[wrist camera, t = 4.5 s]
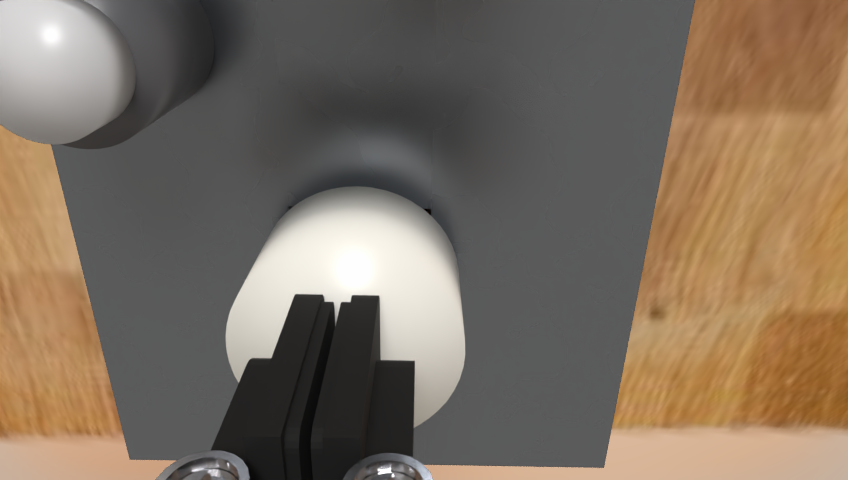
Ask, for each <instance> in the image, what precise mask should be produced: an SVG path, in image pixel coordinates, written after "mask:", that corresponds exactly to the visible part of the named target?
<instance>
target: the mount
mask: <svg viewBox="0 0 848 480" xmlns="http://www.w3.org/2000/svg"><path fill="white" fill-rule="evenodd" d="M199 2H200V3H201V5H202V7H203V9H204V10H205V12H206V15H207V17H208V19H209V22H210V25H211V29H212V33H213V39H214V58H213V63H212V67H211V70H210V73H209V75H208V77H207V79H206V81H205V83H204V84H203V85H202V87H201V88H200V89H199V90H198V91H197V92H196V93H195V94H194V95H193V96H192V97H190V98H189V99H187V100H186V101H184V102H183V103H181V104H180V105H179V106H177V107H176V108H174V109H173V110H171V111H170V112H168V113H167V114H165V115H164V116H162V117H161V118H159V119H158V120H156V121H155V122H153V123H152V124H151V125H149V126H148V127H146V128H145V129H143V130H142V131H140V132H139V133H137V134H136V135H134V136H133V137H131V138H130V139H128V140H126V141H124V142H122V143H120V144H118V145H115V146H112V147H107V148H102V149H78V148H73V147H68V146H64V145H61V144H51V146H52V150H53V154H54V158H55V162H56V166H57V170H58V174H59V178H60V182H61V186H62V190H63V194H64V198H65V202H66V206H67V210H68V214H69V218H70V222H71V226H72V230H73V234H74V238H75V242H76V246H77V250H78V254H79V258H80V262H81V266H82V270H83V274H84V278H85V282H86V286H87V290H88V294H89V298H90V302H91V306H92V310H93V314H94V318H95V322H96V326H97V330H98V334H99V338H100V342H101V346H102V350H103V354H104V358H105V362H106V366H107V370H108V374H109V378H110V382H111V386H112V390H113V394H114V398H115V402H116V406H117V410H118V414H119V418H120V422H121V426H122V430H123V434H124V438H125V442H126V446H127V450H128V454H129V458H130V459H131V460H135V459H136V460H178V459H181V458H183V457H186V456H188V455H190V454H193V453H197V452H202V451H207V450H211V448H212V446H213V443H214V441H215V439H216V436H217V434H218V431H219V429H220V427H221V424H222V422H223V419H224V417H225V415H226V412H227V410H228V408H229V405H230V403H231V400H232V398H233V396H234V393H235V391H236V389H237V386H238V384H239V383H238V381H237V379H236V377H235V376H234V374H233V371H232V368H231V366H230V363H229V359H228V355H227V350H226V326H227V321H228V317H229V313H230V310H231V308H232V306H233V303H234V301H235V299H236V297H237V295H238V293H239V291H240V289H241V288H242V286H243V284H244V282H245V280H246V278H247V276H248V274H249V272H250V271H251V269H252V267H253V265H254V263H255V261H256V259H257V257H258V255H259V254H260V252H261V250H262V248H263V246H264V244H265V242H266V240H267V238H268V237H269V235H270V233H271V231H272V230H273V228H274V227H275V225H276V223H277V222H278V221H279V220H280V219H281V218H282V216H283V215H284V214H285V213H286V212H287V211H289V210H290V209H291V208H292V207H293V206H294V205H296V204H298V203H299V202H301V201H302V200H304V199H306V198H308V197H310V196H312V195H314V194H316V193H319V192H323V191H326V190H329V189H334V188H340V187H352V186H360V187H372V188H377V189H382V190H386V191H389V192H392V193H395V194H398V195H400V196H402V197H404V198H406V199H408V200H410V201H412V202H413V203H415V204H417V205H418V206H420V207H421V208H422V209H429V214H430V215H431V216H432V217H433V218H434V219H435V220H436V222H437V223H438V224H439V225H440V226H441V228H442V229H443V230H444V232H445V233H446V235H447V236H448V238H449V240H450V242H451V244H452V246H453V249H454V252H455V255H456V259H457V265H458V271H459V282H460V293H461V303H462V314H463V324H464V335H465V360H464V367H463V370H462V374H461V377H460V380H459V382H458V384H457V386H456V388H455V390H454V391H453V393H452V394H451V396H450V397H449V399H448V400H447V402H446V403H445V404H444V405H443V406H442V407H441V408H440V409H439V410H438V411H437V412H436V413H435V414H434V415H432V416H431V417H430V418H429V419H427V420H426V421H424V422H423V423H421V424H420V425H418V426H416V427H414V443H413V458H414V459H415V460H417V461H419V462H420V463H422V464H423V465H479V466H536V467H595V468H596V467H597V468H604V465H605V459H606V454H607V449H608V444H609V439H610V434H611V429H612V423H613V418H614V413H615V408H616V403H617V398H618V393H619V388H620V382H621V377H622V372H623V367H624V362H625V357H626V352H627V347H628V341H629V336H630V331H631V326H632V321H633V316H634V311H635V306H636V300H637V295H638V290H639V285H640V280H641V275H642V270H643V265H644V259H645V254H646V249H647V244H648V239H649V234H650V229H651V223H652V218H653V213H654V208H655V203H656V198H657V193H658V188H659V182H660V177H661V172H662V167H663V162H664V157H665V152H666V147H667V141H668V136H669V131H670V126H671V121H672V116H673V111H674V106H675V100H676V95H677V90H678V85H679V80H680V75H681V70H682V65H683V59H684V54H685V49H686V44H687V39H688V34H689V29H690V23H691V18H692V13H693V8H694V3H695V0H199Z"/></svg>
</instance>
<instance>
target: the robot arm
mask: <svg viewBox="0 0 848 480" xmlns="http://www.w3.org/2000/svg"><path fill="white" fill-rule="evenodd" d="M414 392H415V361H406V360H381V355H380V297H379V295H352V297H351V302H341V304H340V309H339V313H338V317H337V322H336V326H335V309H334V302H325V300H324V296H323V295H321V294H295V296H294V298H293V300H292V303H291V306H290V309H289V311H288V314H287V317H286V320H285V322H284V325H283V328H282V330H281V333H280V336H279V339H278V341H277V344H276V347H275V350H274V352H273V355H272V358H251V359H250V360H249V361H248V363H247V365H246V367H245V369H244V372H243V374H242V377H241V379H240V381H239V384H238V386H237V389H236V391H235V393H234V396H233V398H232V400H231V403H230V405H229V408H228V410H227V412H226V415H225V417H224V419H223V422H222V424H221V427H220V429H219V431H218V434H217V436H216V439H215V441H214V443H213V446H212V448H211V450H207V451H202V452H197V453H193V454H190V455H188V456H186V457H183V458H181V459H178V460H177V461H176V462H174V463H173V464H171V465H170V466H168V467H167V468H166V469H165V470H164V471H163V472H162V473H161V474H160V475H159V476H158V477H157V478H156V480H433V478H432V476H431V473H430V472H429V470H428V469H427V468H426V467H425V466H424V465H423V464H422V463H420V462H419V461H417V460H415V459H414V458H413V443H414Z"/></svg>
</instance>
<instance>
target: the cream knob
mask: <svg viewBox="0 0 848 480" xmlns="http://www.w3.org/2000/svg"><path fill="white" fill-rule="evenodd" d="M295 294H321V295H323V296H324V300H325V302H334V309H335V326H336V322H337V317H338V313H339V309H340V304H341V302H351V297H352V295H379V297H380V355H381V360H406V361H415V392H414V427H416V426H418V425H420V424H421V423H423V422H424V421H426V420H427V419H429V418H430V417H431V416H432V415H434V414H435V413H436V412H437V411H438V410H439V409H440V408H441V407H442V406H443V405H444V404H445V403H446V402H447V400H448V399H449V397H450V396H451V394H452V393H453V391H454V390H455V388H456V386H457V384H458V382H459V380H460V377H461V374H462V370H463V367H464V360H465V335H464V324H463V314H462V303H461V293H460V282H459V271H458V265H457V259H456V255H455V252H454V249H453V246H452V244H451V242H450V240H449V238H448V236H447V235H446V233H445V232H444V230H443V229H442V228H441V226H440V225H439V224H438V223H437V222H436V220H435V219H434V218H433V217H432V216H431V215H430V214H428V213H427V212H426V211H425V210H424V209H422V208H421V207H420V206H418V205H417V204H415V203H413V202H412V201H410V200H408V199H406V198H404V197H402V196H400V195H398V194H395V193H392V192H389V191H386V190H382V189H377V188H372V187H360V186H352V187H340V188H334V189H329V190H326V191H323V192H319V193H316V194H314V195H312V196H310V197H308V198H306V199H304V200H302V201H301V202H299V203H298V204H296V205H294V206H293V207H292V208H291V209H290V210H289V211H287V212H286V213H285V214H284V215H283V216H282V218H281V219H280V220H279V221H278V222H277V223H276V225H275V227H274V228H273V230H272V231H271V233H270V235H269V237H268V238H267V240H266V242H265V244H264V246H263V248H262V250H261V252H260V254H259V255H258V257H257V259H256V261H255V263H254V265H253V267H252V269H251V271H250V272H249V274H248V276H247V278H246V280H245V282H244V284H243V286H242V288H241V289H240V291H239V293H238V295H237V297H236V299H235V301H234V303H233V306H232V308H231V310H230V313H229V317H228V321H227V326H226V350H227V355H228V359H229V363H230V366H231V368H232V371H233V374H234V376H235V377H236V379H237V381H238V383H239V381H240V379H241V377H242V374H243V372H244V369H245V367H246V365H247V363H248V361H249V360H250V359H251V358H272V355H273V352H274V350H275V347H276V344H277V341H278V339H279V336H280V333H281V330H282V328H283V325H284V322H285V320H286V317H287V314H288V311H289V309H290V306H291V303H292V300H293V298H294V296H295Z"/></svg>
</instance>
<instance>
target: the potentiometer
mask: <svg viewBox="0 0 848 480" xmlns="http://www.w3.org/2000/svg"><path fill="white" fill-rule="evenodd" d="M213 58H214V39H213V33H212V29H211V25H210V22H209V19H208V17H207V15H206V12H205V10H204V9H203V7H202V5H201V3H200V2H199V0H0V125H2V126H3V127H5V128H6V129H7V130H9V131H11V132H13V133H14V134H16V135H18V136H20V137H23V138H25V139H28V140H31V141H34V142H38V143H43V144H61V145H64V146H68V147H73V148H78V149H102V148H107V147H112V146H115V145H118V144H120V143H122V142H124V141H126V140H128V139H130V138H131V137H133V136H134V135H136V134H137V133H139V132H140V131H142V130H143V129H145V128H146V127H148V126H149V125H151V124H152V123H153V122H155V121H156V120H158V119H159V118H161V117H162V116H164V115H165V114H167V113H168V112H170V111H171V110H173V109H174V108H176V107H177V106H179V105H180V104H181V103H183V102H184V101H186V100H187V99H189V98H190V97H192V96H193V95H194V94H195V93H196V92H197V91H198V90H199V89H200V88H201V87H202V85H203V84H204V83H205V81H206V79H207V77H208V75H209V73H210V70H211V67H212V63H213Z"/></svg>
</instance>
